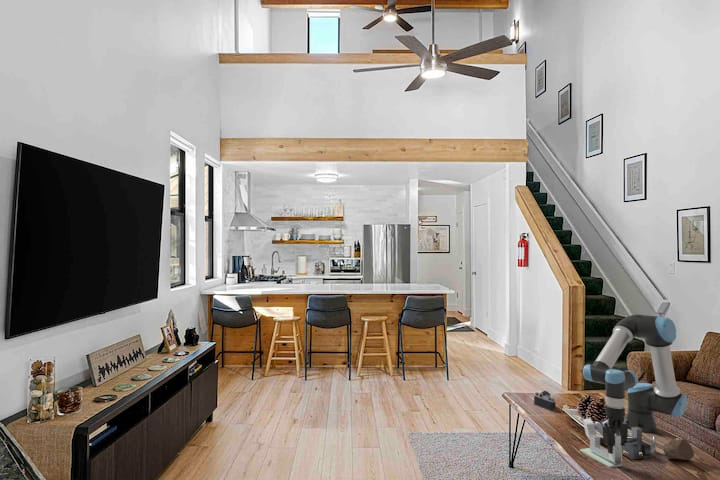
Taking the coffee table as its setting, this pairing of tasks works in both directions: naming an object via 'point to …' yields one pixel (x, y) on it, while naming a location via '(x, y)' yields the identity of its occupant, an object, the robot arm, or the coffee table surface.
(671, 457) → the rock
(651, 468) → the coffee table surface
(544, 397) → the camera
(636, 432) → the vise
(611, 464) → the pad
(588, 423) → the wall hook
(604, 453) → the white slotted block
